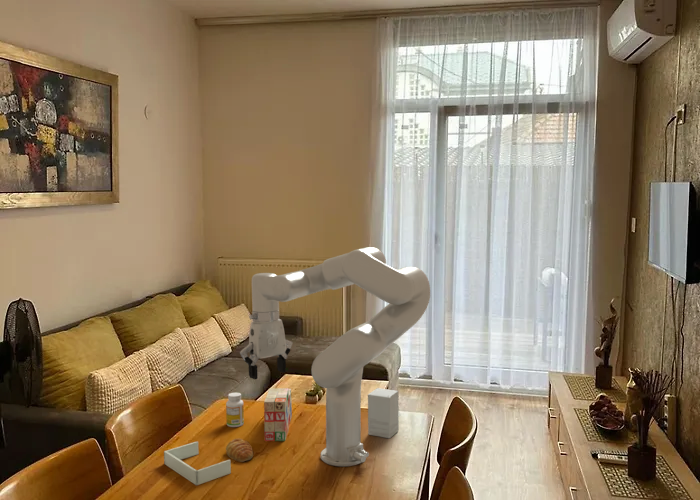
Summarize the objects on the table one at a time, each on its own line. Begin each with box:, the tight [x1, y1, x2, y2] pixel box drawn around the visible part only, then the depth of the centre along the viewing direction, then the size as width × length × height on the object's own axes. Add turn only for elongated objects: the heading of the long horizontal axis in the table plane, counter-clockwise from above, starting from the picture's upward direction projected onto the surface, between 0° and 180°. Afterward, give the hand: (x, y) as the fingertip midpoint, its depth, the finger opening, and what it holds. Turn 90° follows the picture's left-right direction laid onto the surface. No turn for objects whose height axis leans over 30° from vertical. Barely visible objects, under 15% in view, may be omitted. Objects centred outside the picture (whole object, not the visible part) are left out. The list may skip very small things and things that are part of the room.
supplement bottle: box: [225, 392, 245, 428], centre depth 199 cm, size 5×5×10 cm
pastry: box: [225, 438, 254, 463], centre depth 175 cm, size 9×7×4 cm
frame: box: [163, 441, 232, 486], centre depth 167 cm, size 17×10×4 cm, turn 43°
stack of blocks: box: [263, 387, 293, 442], centre depth 195 cm, size 21×6×12 cm, turn 0°
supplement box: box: [367, 387, 400, 439], centre depth 191 cm, size 7×7×13 cm
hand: (267, 374), depth 182 cm, fingers open, 9 cm apart
